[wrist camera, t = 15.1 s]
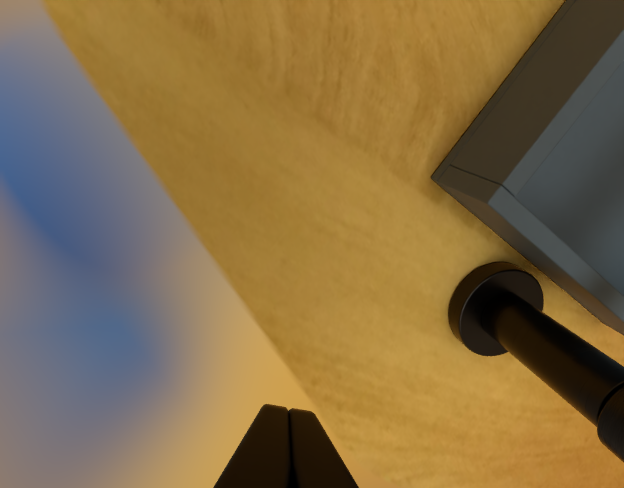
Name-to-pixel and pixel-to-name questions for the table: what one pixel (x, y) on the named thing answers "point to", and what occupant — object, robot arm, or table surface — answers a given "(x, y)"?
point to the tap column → (531, 336)
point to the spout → (613, 424)
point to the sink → (556, 157)
